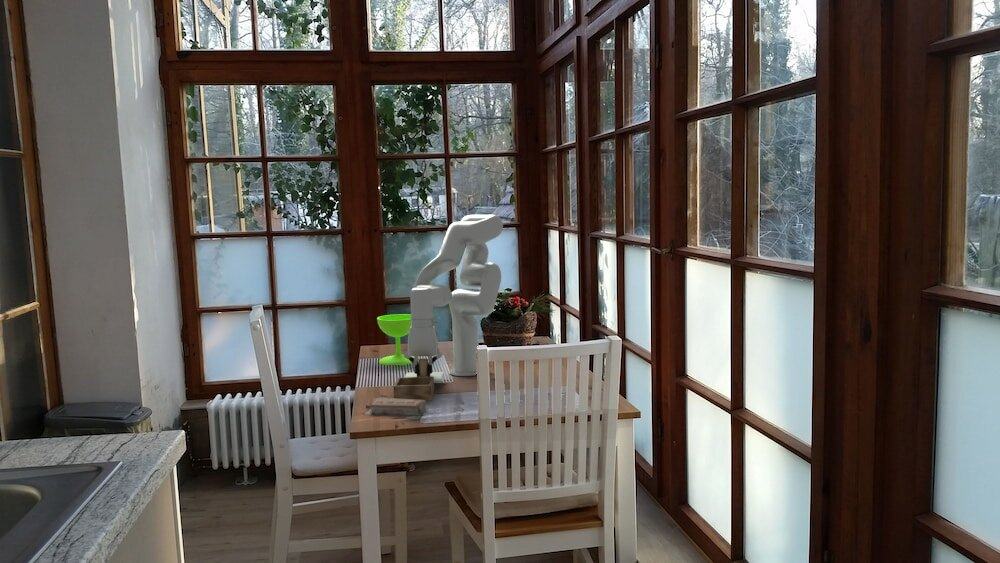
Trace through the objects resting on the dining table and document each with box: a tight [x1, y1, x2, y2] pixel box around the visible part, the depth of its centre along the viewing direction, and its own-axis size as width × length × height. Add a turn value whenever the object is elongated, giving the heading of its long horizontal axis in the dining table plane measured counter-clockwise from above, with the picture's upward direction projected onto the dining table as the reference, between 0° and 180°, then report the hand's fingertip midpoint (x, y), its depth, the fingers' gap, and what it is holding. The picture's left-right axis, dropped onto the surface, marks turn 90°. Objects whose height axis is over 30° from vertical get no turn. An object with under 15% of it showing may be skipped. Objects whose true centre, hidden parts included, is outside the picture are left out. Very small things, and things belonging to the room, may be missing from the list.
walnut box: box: [393, 376, 435, 403], centre depth 251 cm, size 12×12×6 cm
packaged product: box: [363, 397, 429, 420], centre depth 235 cm, size 18×5×10 cm
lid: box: [404, 358, 445, 384], centre depth 266 cm, size 13×13×7 cm
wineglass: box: [376, 313, 414, 366], centre depth 310 cm, size 16×16×18 cm
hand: (423, 375), depth 266 cm, fingers closed on lid, 3 cm apart
